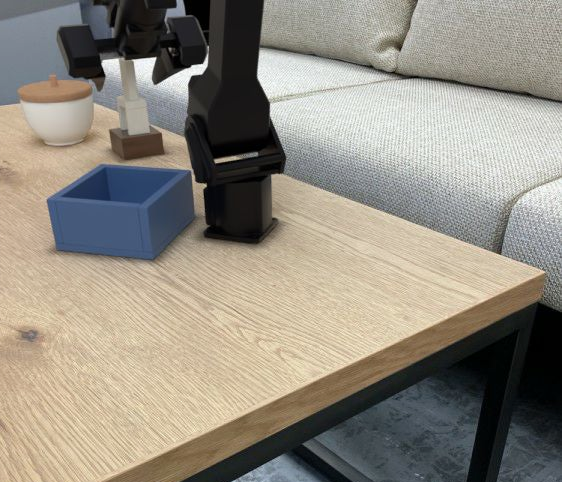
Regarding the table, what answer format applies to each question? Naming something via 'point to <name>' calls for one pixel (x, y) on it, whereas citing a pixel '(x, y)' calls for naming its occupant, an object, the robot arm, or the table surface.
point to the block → (136, 143)
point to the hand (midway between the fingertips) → (126, 85)
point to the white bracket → (131, 102)
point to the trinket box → (58, 110)
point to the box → (122, 210)
